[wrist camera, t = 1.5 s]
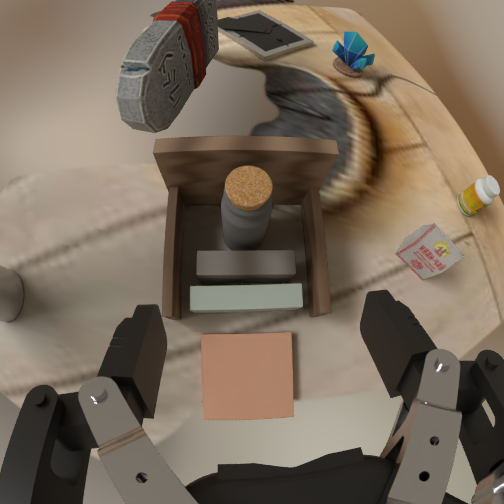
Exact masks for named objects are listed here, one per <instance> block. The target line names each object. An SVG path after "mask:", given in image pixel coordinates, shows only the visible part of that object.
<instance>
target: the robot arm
mask: <svg viewBox="0 0 504 504" xmlns="http://www.w3.org/2000/svg"><path fill="white" fill-rule="evenodd" d="M23 298H24V291H23V285H22V281H21V279H20V277H19V276H18V274H17V273H16V272H14V271H12V270H9V269H7V268H5V267H2V266H0V321H5V322H9V321H12V320H14V319H15V318H16V317H17V315H18V314H19V312H20V310H21V307H22V304H23ZM360 331H361V335H362V338H363V340H364V342H365V344H366V346H367V348H368V350H369V352H370V354H371V356H372V359H373V361H374V363H375V365H376V367H377V369H378V371H379V373H380V376H381V378H382V380H383V382H384V384H385V386H386V389H387V391H388V393H389V395H390V398H393V397H396V396H400V395H401V396H402V398H403V401H402V403H401V405H400V408H399V411H398V414H397V417H396V420H395V423H394V426H393V428H392V431H391V434H390V437H389V439H388V442H387V444H386V446H385V448H384V449H383V451H382V453H381V455H380V457H378V456H372V455H363V453H362V450H361V447H359V448H355V449H350V450H346V451H342V452H337V453H331V454H327V455H325V456H322V457H320V458H318V459H315V460H313V461H310V462H307V463H305V464H302V465H300V466H297V467H293V468H289V467H278V466H271V465H263V464H256V463H251V464H250V463H249V464H218V472H217V473H212V474H209V475H206V476H203V477H201V478H199V479H197V480H195V481H194V482H192V483H190V484H188V485H187V486H186V487H185V486H184V485H183V484H182V483H181V481H180V480H179V479H178V478H177V476H176V475H175V474H174V473H173V471H172V470H171V469H170V467H169V466H168V465H167V463H166V462H165V460H164V459H163V458H162V456H161V455H160V453H159V452H158V451H157V449H156V448H155V446H154V445H153V443H152V442H151V440H150V439H149V437H148V436H147V434H146V433H145V431H144V430H143V428H142V423H143V418H152V419H154V413H155V407H156V402H157V396H158V391H159V386H160V380H161V375H162V370H163V365H164V361H165V356H166V351H167V337H166V332H165V329H164V325H163V321H162V318H161V314H160V310H159V307H158V305H157V304H152V305H137V307H136V309H135V312H134V314H133V317H132V318H125V319H124V320H123V321H122V322H121V323H120V324H119V325H118V326H117V328H116V330H115V333H114V335H113V339H112V340H111V342H110V347H108V350H107V352H106V355H105V357H104V360H103V362H102V365H101V368H100V370H99V373H98V375H97V377H95V378H92V379H90V380H88V381H87V382H85V383H84V384H83V385H82V387H81V388H80V391H79V392H74V393H67V394H60V395H58V394H57V392H56V391H55V390H54V389H53V388H52V387H51V386H48V385H40V386H37V387H35V388H33V389H32V390H31V391H30V392H29V393H28V394H27V396H26V398H25V400H24V403H23V405H22V408H21V410H20V413H19V416H18V418H17V421H16V424H15V427H14V430H13V433H12V435H11V438H10V441H9V445H8V448H7V451H6V454H5V457H4V461H3V464H2V468H1V472H0V504H83V496H84V488H85V481H86V475H87V469H88V463H89V457H90V452H91V449H92V448H99V450H98V451H97V452H98V455H99V458H100V460H101V462H102V464H103V465H104V467H105V469H106V471H107V473H108V475H109V477H110V479H111V480H112V482H113V484H114V486H115V487H116V489H117V491H118V493H119V494H120V496H121V498H122V499H123V501H124V502H125V504H468V503H466V502H464V501H462V500H460V499H458V498H456V497H454V496H452V495H450V494H448V493H447V492H446V488H447V485H448V481H449V478H450V474H451V470H452V466H453V462H454V457H455V453H456V448H457V443H458V438H459V439H460V441H461V443H462V446H463V448H464V451H465V453H466V456H467V459H468V461H469V464H470V467H471V469H472V472H473V475H474V478H475V481H476V483H477V487H476V490H475V494H474V495H473V497H472V499H471V503H472V504H504V360H503V358H502V357H501V356H500V355H499V354H498V353H496V352H494V351H491V350H483V351H481V352H480V353H479V354H478V356H477V358H476V359H475V361H459V360H458V359H457V357H456V356H455V355H454V354H453V353H451V352H449V351H447V350H444V349H437V347H436V346H435V344H434V343H433V341H432V340H431V338H430V337H429V336H428V334H427V333H426V331H425V330H424V328H423V327H422V326H421V325H420V323H419V321H418V320H417V319H416V318H415V316H414V314H413V313H412V312H411V310H410V309H409V308H408V307H407V306H406V305H404V304H403V303H401V302H400V301H395V299H394V298H393V297H392V295H391V294H390V293H389V291H388V290H379V291H370V292H368V293H367V296H366V300H365V304H364V309H363V313H362V317H361V322H360ZM485 399H486V401H487V402H488V404H489V406H490V408H491V410H492V412H493V414H494V416H495V426H494V427H493V426H492V424H491V422H490V420H489V418H488V416H487V414H486V412H485V410H484V408H483V406H482V403H483V402H484V400H485Z"/></svg>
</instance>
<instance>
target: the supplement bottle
mask: <svg viewBox="0 0 504 504" xmlns="http://www.w3.org/2000/svg"><path fill="white" fill-rule="evenodd" d="M499 192H500V188H499V185H498V183H497V181H496V180H495V179H494V178H493V177H492V176H487V177H485V178H484V179H482V178H480V179H477V180H476V181H475V182H473V183H472V184H471V185H470V186H468V187H467V188H466V189H464V190H463V191H462V192H460V193H459V194H458V196H457V203H458V206H459V209H460V210H461V211H462V213H463V214H465V215H466V216H472V215H474V214H476V213H477V212H479V211H480V210H482V209H483V208H485V207H487V206H488V205H490V204H491V203H492V202H493V200H494V197H496V196H497V195H498V194H499Z"/></svg>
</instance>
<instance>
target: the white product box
mask: <svg viewBox="0 0 504 504" xmlns="http://www.w3.org/2000/svg"><path fill="white" fill-rule="evenodd" d="M395 254H396V255H397V256H398V257H399V258H401V259H402V260H403V261H404V262H405V263H406V264H407V265H408V266H409V267H410V268H411V269H412V270H413V271H414V272H415V273H416V274H417V275H418V276H419V277H420V278H421V279H422V280H424V279H427V278H430V277H432V276H435V275H437V274H440V273H443V272H444V271H446V270H447V269H448V268H449V267H451V266H452V265H453V264H454V263H456V262H457V261H458V260H460V259H461V258H463V256H464V255H463V254H462V252H461V251H460V250H459V249H458V248H457V247H456V246H455V245H454V244H453V242H452V241H451V240H450V239H449V238H448V237H447V236H446V235H445V234H444V233H443V232H442V231H441V230H440V229H439V227H438V226H437V225H436V224H435V223H434V224H432V225H424V226H422V227H421V228H419V229H418V230H416V231H415V232H413V233H412V234H410V235H409V236H407V237H406V238H405V239H404V241H403V242H402V244H401V245H400V247H399V249H398V250H397V252H396V253H395Z"/></svg>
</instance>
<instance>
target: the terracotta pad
mask: <svg viewBox="0 0 504 504" xmlns="http://www.w3.org/2000/svg"><path fill="white" fill-rule="evenodd" d="M201 354H202V385H203V407H204V420H251V419H271V418H284V417H293V416H294V414H293V366H292V337H291V332H283V333H259V334H201Z"/></svg>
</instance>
